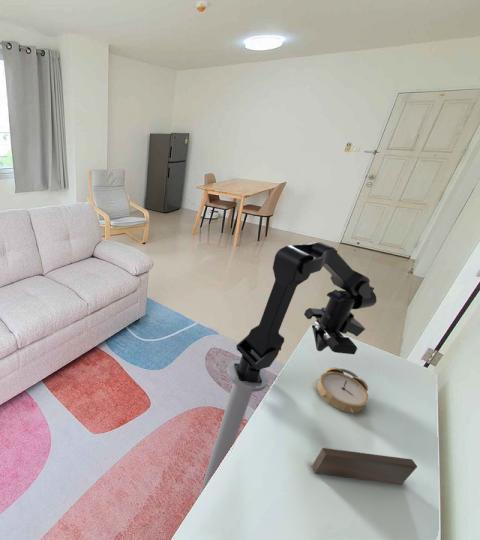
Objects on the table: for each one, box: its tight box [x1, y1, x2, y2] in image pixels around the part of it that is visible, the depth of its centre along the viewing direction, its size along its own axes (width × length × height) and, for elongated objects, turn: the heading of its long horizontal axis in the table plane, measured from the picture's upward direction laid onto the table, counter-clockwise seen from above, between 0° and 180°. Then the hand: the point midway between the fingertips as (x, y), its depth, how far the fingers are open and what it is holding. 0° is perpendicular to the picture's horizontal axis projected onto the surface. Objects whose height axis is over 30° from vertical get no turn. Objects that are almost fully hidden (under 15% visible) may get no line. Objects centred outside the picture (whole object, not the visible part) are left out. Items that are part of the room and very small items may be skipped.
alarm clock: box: [316, 366, 370, 414], centre depth 84 cm, size 11×5×15 cm
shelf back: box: [311, 447, 418, 486], centre depth 63 cm, size 2×18×7 cm, turn 84°
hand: (318, 350), depth 94 cm, fingers closed
